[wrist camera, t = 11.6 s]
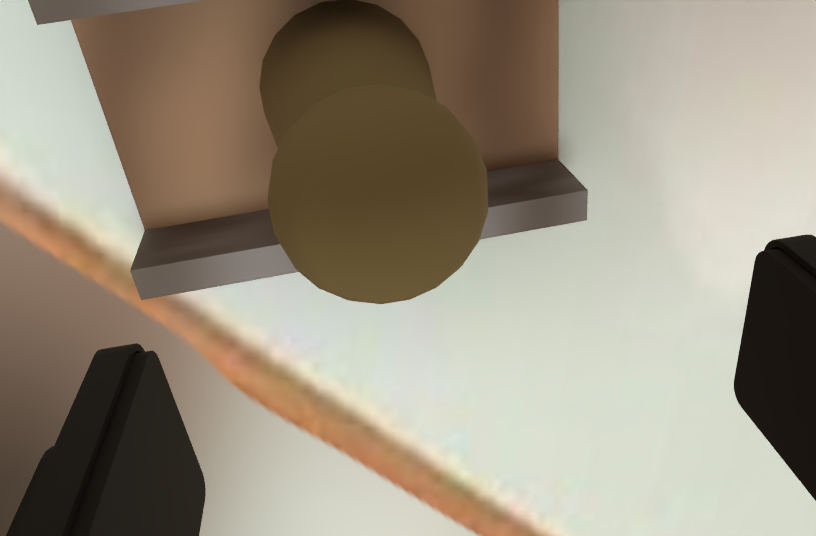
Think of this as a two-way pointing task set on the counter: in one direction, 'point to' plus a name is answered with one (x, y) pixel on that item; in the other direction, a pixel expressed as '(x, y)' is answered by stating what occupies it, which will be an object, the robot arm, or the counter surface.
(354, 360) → the counter surface
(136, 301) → the counter surface
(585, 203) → the track
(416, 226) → the olive brown pawn
